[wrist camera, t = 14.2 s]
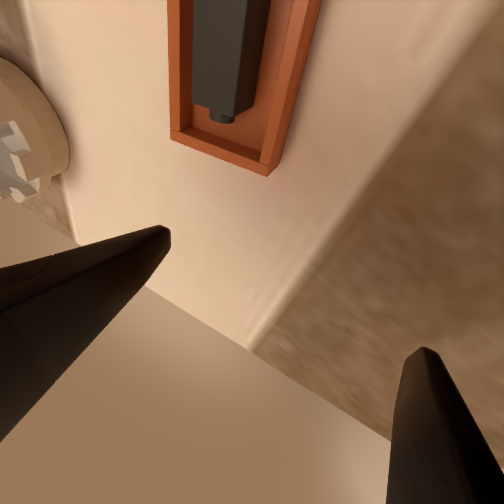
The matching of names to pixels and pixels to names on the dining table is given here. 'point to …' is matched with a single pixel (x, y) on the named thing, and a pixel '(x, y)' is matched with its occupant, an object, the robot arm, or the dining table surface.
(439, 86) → the dining table surface
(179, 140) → the pen tray
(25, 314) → the robot arm
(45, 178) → the flag stand
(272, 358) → the dining table surface
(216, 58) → the marker
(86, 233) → the dining table surface
